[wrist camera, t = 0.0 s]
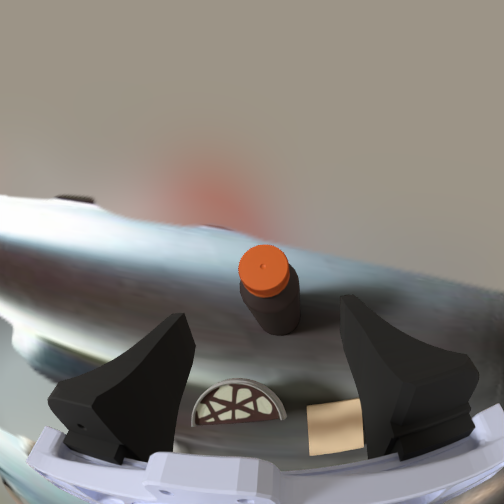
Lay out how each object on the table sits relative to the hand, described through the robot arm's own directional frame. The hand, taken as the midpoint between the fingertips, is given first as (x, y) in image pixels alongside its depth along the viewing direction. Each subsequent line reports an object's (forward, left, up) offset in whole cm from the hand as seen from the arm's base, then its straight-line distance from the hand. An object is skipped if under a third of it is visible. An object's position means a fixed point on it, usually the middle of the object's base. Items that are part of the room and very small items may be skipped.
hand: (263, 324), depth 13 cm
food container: (-5, +7, -33) cm, 34 cm away
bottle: (+8, +1, -32) cm, 33 cm away
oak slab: (-11, -6, -33) cm, 35 cm away
